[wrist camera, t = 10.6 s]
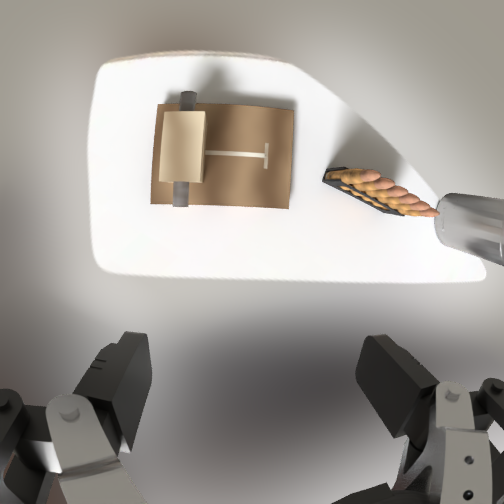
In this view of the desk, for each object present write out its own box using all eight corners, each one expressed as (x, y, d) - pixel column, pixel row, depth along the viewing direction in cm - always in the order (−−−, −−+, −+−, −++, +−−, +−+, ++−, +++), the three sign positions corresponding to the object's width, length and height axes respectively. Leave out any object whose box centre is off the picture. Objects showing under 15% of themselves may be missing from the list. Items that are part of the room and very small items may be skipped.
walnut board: (289, 114, 31) (293, 110, 29) (284, 207, 33) (288, 209, 31) (161, 108, 29) (158, 104, 27) (154, 203, 31) (150, 204, 29)
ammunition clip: (388, 201, 35) (446, 209, 23) (384, 213, 35) (441, 225, 23) (326, 168, 33) (375, 160, 21) (321, 181, 33) (369, 179, 22)
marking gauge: (209, 103, 28) (207, 88, 23) (202, 204, 30) (198, 207, 25) (175, 103, 27) (167, 89, 22) (167, 204, 30) (158, 206, 25)
